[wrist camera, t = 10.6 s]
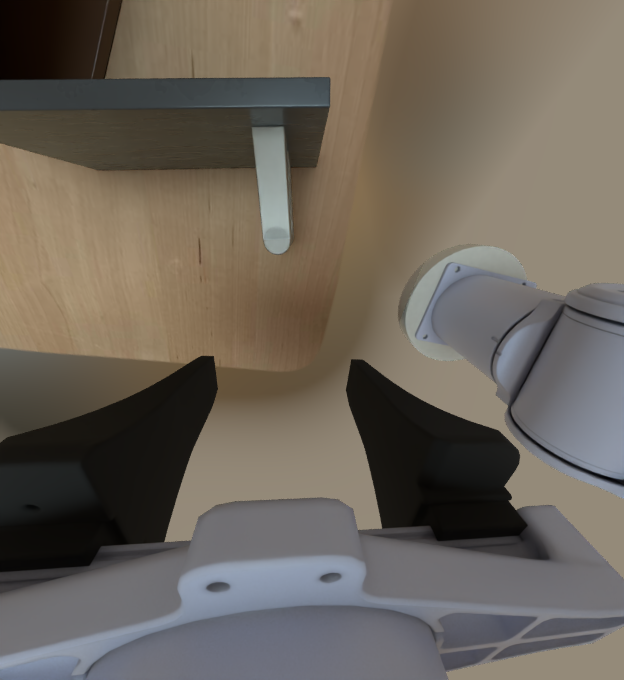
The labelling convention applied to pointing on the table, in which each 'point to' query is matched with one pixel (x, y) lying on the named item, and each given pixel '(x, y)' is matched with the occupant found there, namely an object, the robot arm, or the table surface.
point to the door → (177, 129)
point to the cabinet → (56, 38)
